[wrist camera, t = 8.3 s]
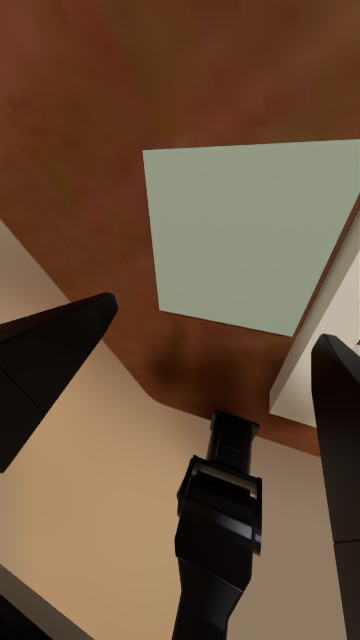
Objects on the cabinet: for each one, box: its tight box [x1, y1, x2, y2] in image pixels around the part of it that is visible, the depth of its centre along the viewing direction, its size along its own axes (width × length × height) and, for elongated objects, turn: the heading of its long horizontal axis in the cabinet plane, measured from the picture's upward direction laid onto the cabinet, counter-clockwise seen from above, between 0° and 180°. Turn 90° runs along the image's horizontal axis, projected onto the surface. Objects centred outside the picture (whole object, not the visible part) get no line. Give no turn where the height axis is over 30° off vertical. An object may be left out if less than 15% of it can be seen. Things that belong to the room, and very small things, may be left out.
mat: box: [143, 139, 360, 337], centre depth 14 cm, size 12×12×1 cm
